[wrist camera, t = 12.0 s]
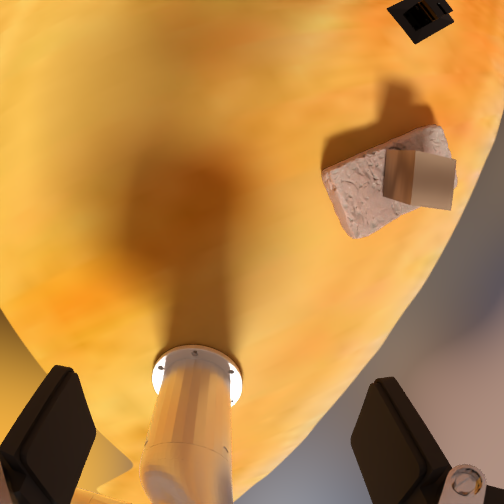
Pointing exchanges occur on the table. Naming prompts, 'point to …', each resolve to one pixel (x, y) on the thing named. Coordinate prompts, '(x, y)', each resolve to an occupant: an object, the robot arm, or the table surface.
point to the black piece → (421, 17)
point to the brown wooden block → (419, 178)
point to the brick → (375, 182)
